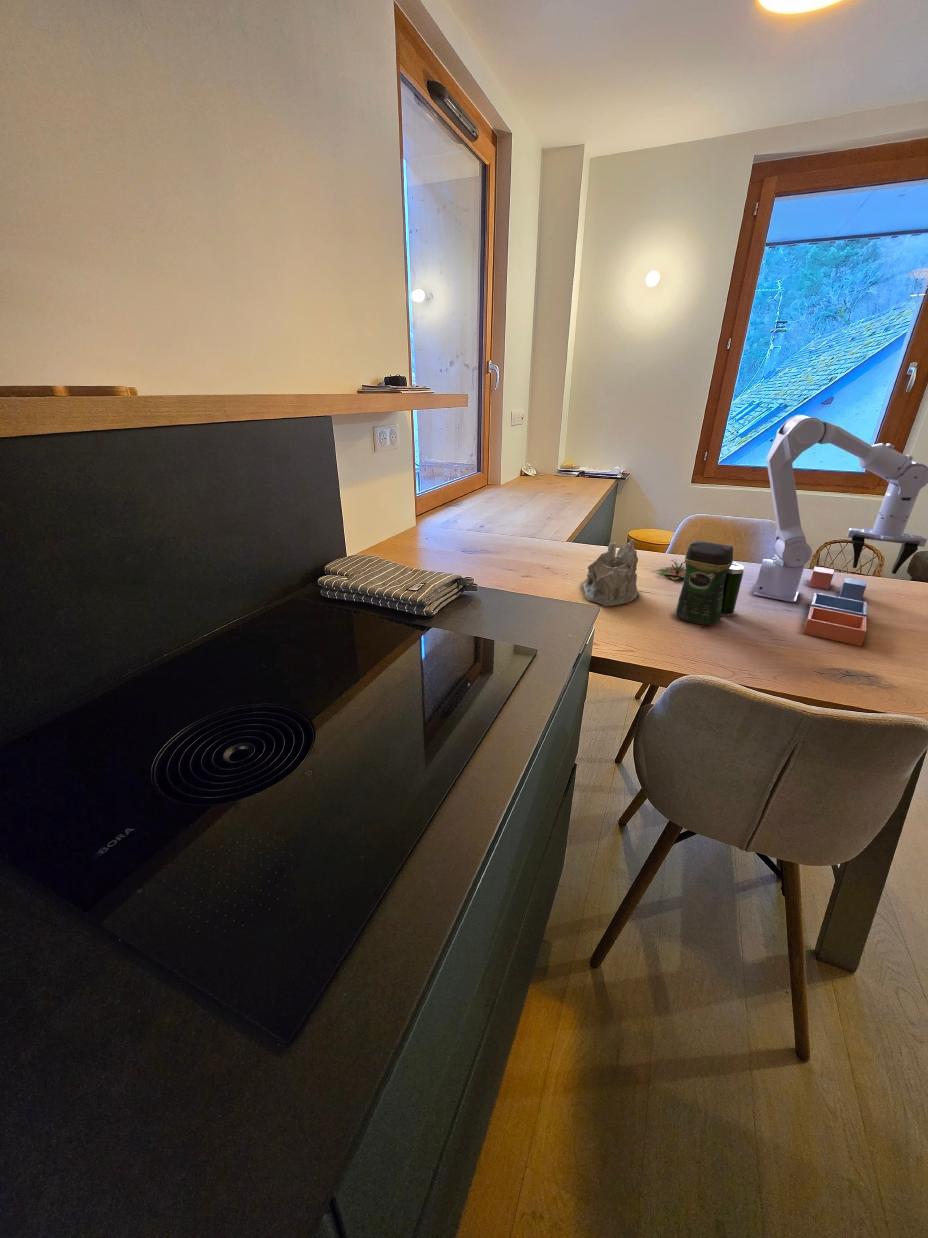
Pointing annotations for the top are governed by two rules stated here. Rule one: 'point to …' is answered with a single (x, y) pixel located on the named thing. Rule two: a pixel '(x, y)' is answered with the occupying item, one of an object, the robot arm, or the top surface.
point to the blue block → (853, 589)
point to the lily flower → (674, 571)
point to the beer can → (731, 589)
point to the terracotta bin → (836, 625)
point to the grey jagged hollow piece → (613, 576)
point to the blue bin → (839, 604)
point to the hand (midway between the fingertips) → (873, 569)
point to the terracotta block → (821, 578)
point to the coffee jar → (704, 582)
